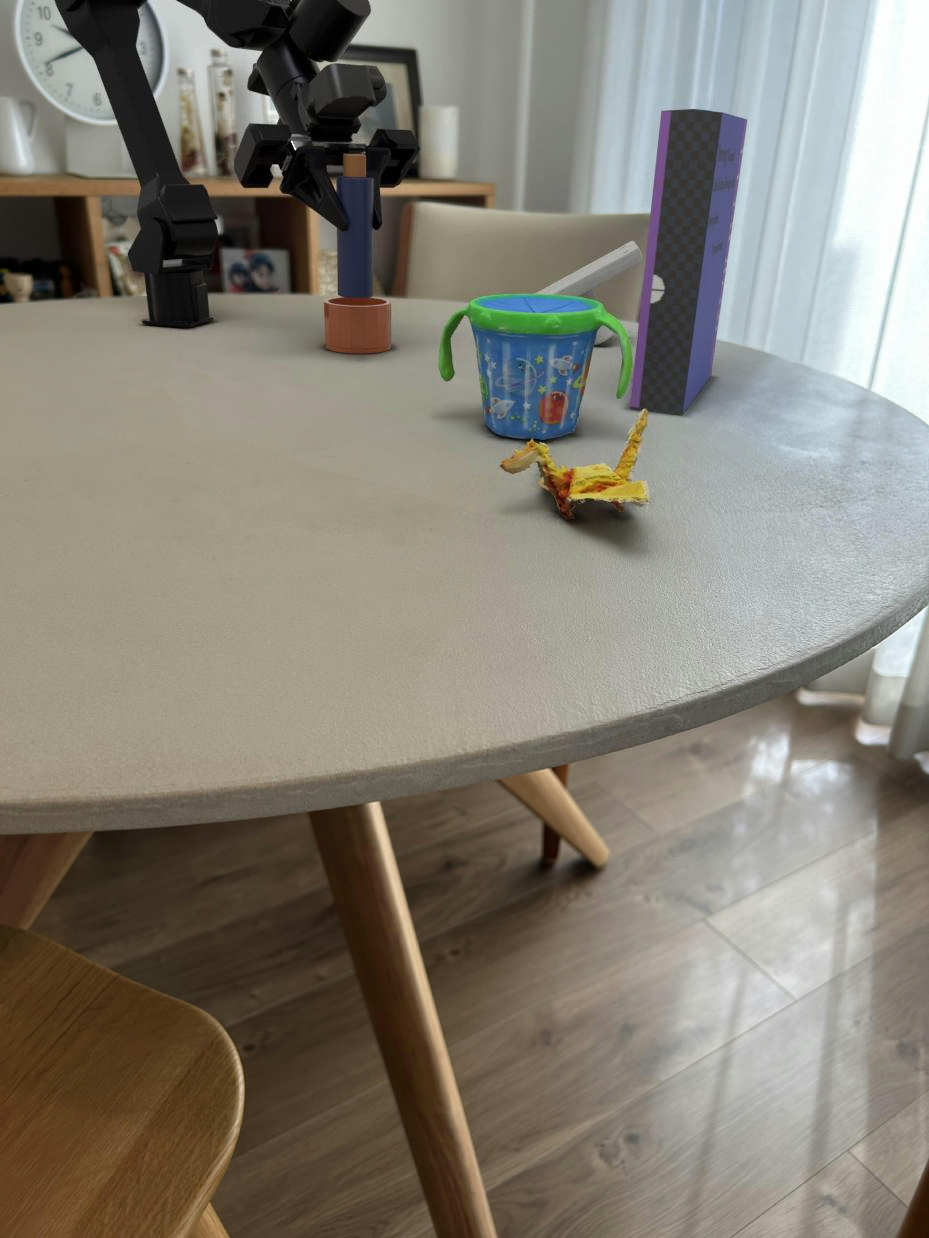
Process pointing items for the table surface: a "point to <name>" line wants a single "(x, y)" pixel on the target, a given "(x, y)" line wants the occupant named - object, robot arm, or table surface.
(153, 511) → the table surface
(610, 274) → the door handle
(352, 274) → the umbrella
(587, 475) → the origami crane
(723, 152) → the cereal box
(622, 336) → the snack cup
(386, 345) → the terracotta round pot
